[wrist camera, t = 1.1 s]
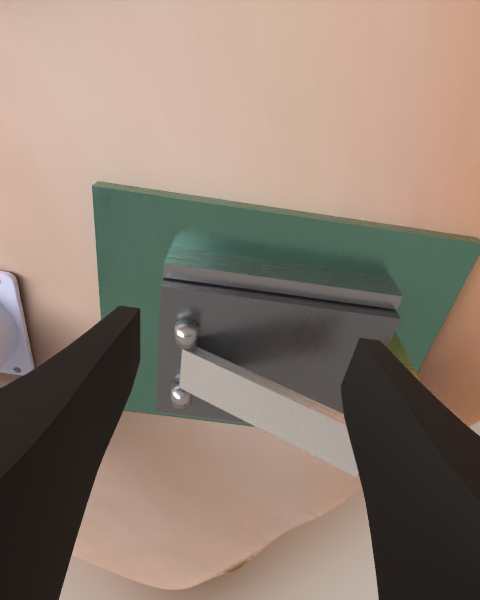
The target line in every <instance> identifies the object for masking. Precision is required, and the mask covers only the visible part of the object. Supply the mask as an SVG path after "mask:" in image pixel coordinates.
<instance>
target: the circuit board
mask: <svg viewBox="0 0 480 600" xmlns="http://www.w3.org/2000/svg"><path fill="white" fill-rule="evenodd" d="M92 192H93V207H94V221H95V236H96V251H97V265H98V280H99V295H100V309H101V320H102V319H103V318H104V317H106V316H107V315H108V314H109V313H110V312H112V311H113V310H114V309H115V308H117V307H118V306H127V307H135V308H140V364H139V367H138V371H137V374H136V378H135V381H134V385H133V388H132V391H131V393H130V396H129V398H128V400H127V403H126V405H125V407H124V410H123V411H131V412H139V413H148V414H156V415H164V416H172V417H180V418H188V419H197V420H205V421H213V422H221V423H229V424H237V425H245V426H254V425H252V424H250V423H248V422H246V421H244V420H242V419H240V418H238V417H236V416H234V415H232V414H230V413H228V412H226V411H224V410H222V409H220V408H218V407H216V406H214V405H212V404H210V403H208V402H206V401H204V400H202V399H200V398H198V397H196V396H194V395H192V394H191V393H189V392H187V391H185V390H183V389H181V388H179V384H180V371H181V358H182V349H191V348H193V347H195V346H197V347H199V348H201V349H203V350H205V351H207V352H210V353H212V354H214V355H216V356H218V357H221V358H223V359H225V360H227V361H229V362H231V363H234V364H236V365H238V366H240V367H242V368H245V369H247V370H249V371H251V372H253V373H255V374H258V375H260V376H262V377H264V378H266V379H269V380H271V381H273V382H275V383H277V384H279V385H282V386H284V387H286V388H288V389H290V390H292V391H295V392H297V393H299V394H301V395H303V396H306V397H308V398H310V399H312V400H314V401H316V402H319V403H321V404H323V405H325V406H327V407H330V408H332V409H334V410H336V411H338V412H340V413H343V414H344V412H343V405H342V395H341V384H342V381H343V379H344V376H345V374H346V371H347V369H348V366H349V363H350V361H351V358H352V356H353V353H354V351H355V348H356V345H357V343H358V340H359V338H365V339H373V340H379V341H381V342H382V343H383V344H384V345H385V346H386V347H387V348H388V349H389V350H390V351H391V352H392V353H393V354H394V355H395V356H396V357H397V358H398V359H399V361H400V362H401V363H402V364H403V365H404V366H405V367H406V368H407V369H408V370H409V371H410V372H411V373H412V374H413V375H414V376H415V377H416V378H417V379H418V380H419V381H420V379H419V377H418V375H417V372H418V370H419V368H420V366H421V365H422V363H423V361H424V359H425V357H426V355H427V353H428V351H429V349H430V347H431V345H432V344H433V342H434V340H435V338H436V336H437V334H438V332H439V330H440V328H441V326H442V325H443V323H444V321H445V319H446V317H447V315H448V313H449V311H450V309H451V307H452V306H453V304H454V302H455V300H456V298H457V296H458V294H459V292H460V290H461V288H462V287H463V285H464V283H465V281H466V279H467V277H468V275H469V273H470V271H471V269H472V268H473V266H474V264H475V262H476V260H477V258H478V256H479V254H480V240H479V239H478V238H476V237H469V236H462V235H455V234H449V233H442V232H435V231H429V230H422V229H415V228H408V227H402V226H395V225H388V224H381V223H375V222H368V221H361V220H354V219H348V218H341V217H334V216H327V215H321V214H314V213H307V212H300V211H294V210H287V209H280V208H274V207H267V206H260V205H253V204H247V203H240V202H233V201H226V200H220V199H213V198H206V197H199V196H193V195H186V194H179V193H172V192H166V191H159V190H152V189H145V188H139V187H132V186H125V185H119V184H112V183H105V182H96V183H95V184H94V185H93V186H92ZM420 382H421V381H420ZM254 427H256V426H254Z"/></svg>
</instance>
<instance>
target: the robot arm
mask: <svg viewBox="0 0 480 600" xmlns="http://www.w3.org/2000/svg"><path fill="white" fill-rule="evenodd" d="M139 364H140V308H135V307H127V306H118V307H117V308H115V309H114V310H113V311H112V312H110V313H109V314H108V315H107V316H106V317H104V318H103V319H102V320H101V321H99V322H98V323H97V324H96V325H95V326H93V327H92V328H91V329H90V330H88V331H87V332H86V333H84V334H83V335H82V336H81V337H79V338H78V339H77V340H75V341H74V342H73V343H71V344H70V345H69V346H67V347H66V348H65V349H63V350H62V351H60V352H59V353H57V354H56V355H55V356H53V357H52V358H50V359H49V360H47V361H46V362H44V363H43V364H41V365H40V366H38V367H37V368H35V367H34V362H33V357H32V352H31V347H30V342H29V337H28V332H27V327H26V322H25V317H24V312H23V307H22V302H21V297H20V292H19V287H18V282H17V279H16V277H15V276H14V275H13V274H11V273H9V272H5V271H0V373H7V374H15V375H23V376H22V377H20V378H18V379H17V380H15V381H13V382H11V383H10V384H8V385H6V386H4V387H2V388H0V600H59V597H60V593H61V589H62V586H63V582H64V579H65V575H66V572H67V569H68V565H69V562H70V558H71V555H72V551H73V548H74V544H75V541H76V538H77V535H78V531H79V528H80V525H81V522H82V518H83V515H84V512H85V508H86V505H87V502H88V499H89V496H90V493H91V490H92V487H93V484H94V480H95V477H96V474H97V471H98V469H99V466H100V464H101V461H102V458H103V456H104V454H105V451H106V449H107V447H108V444H109V442H110V440H111V437H112V435H113V433H114V431H115V428H116V426H117V424H118V421H119V419H120V417H121V414H122V412H123V410H124V407H125V405H126V403H127V400H128V398H129V396H130V393H131V391H132V388H133V385H134V381H135V378H136V374H137V371H138V367H139ZM19 368H20V369H19ZM341 395H342V405H343V412H344V418H345V422H346V427H347V430H348V434H349V438H350V442H351V446H352V450H353V454H354V457H355V461H356V465H357V469H358V472H359V476H360V480H361V484H362V488H363V492H364V497H365V502H366V507H367V514H368V520H369V526H370V532H371V539H372V547H373V554H374V562H375V569H376V577H377V586H378V595H379V600H480V436H479V435H477V434H476V433H475V432H474V431H473V430H471V429H470V428H469V427H468V426H467V425H465V424H464V423H463V422H462V421H461V420H460V419H459V418H457V417H456V416H455V415H454V414H453V413H452V412H451V411H450V410H449V409H448V408H447V407H445V406H444V405H443V404H442V403H441V402H440V401H439V400H438V399H437V398H436V397H435V396H434V395H433V394H432V393H431V392H430V391H429V390H428V389H427V388H426V387H425V386H424V385H423V384H422V383H421V382H420V381H419V380H418V379H417V378H416V377H415V376H414V375H413V374H412V373H411V372H410V371H409V370H408V369H407V368H406V367H405V366H404V365H403V364H402V363H401V362H400V361H399V359H398V358H397V357H396V356H395V355H394V354H393V353H392V352H391V351H390V350H389V349H388V348H387V347H386V346H385V345H384V344H383V343H382V342H381V341H379V340H373V339H365V338H359V340H358V343H357V345H356V348H355V351H354V353H353V356H352V358H351V361H350V363H349V366H348V369H347V371H346V374H345V376H344V379H343V381H342V384H341Z"/></svg>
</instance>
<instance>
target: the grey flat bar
mask: <svg viewBox="0 0 480 600" xmlns="http://www.w3.org/2000/svg"><path fill="white" fill-rule="evenodd" d="M179 388H181V389H183V390H185V391H187V392H189V393H191V394H192V395H194V396H196V397H198V398H200V399H202V400H204V401H206V402H208V403H210V404H212V405H214V406H216V407H218V408H220V409H222V410H224V411H226V412H228V413H230V414H232V415H234V416H236V417H238V418H240V419H242V420H244V421H246V422H248V423H250V424H252V425H254V426H256V427H258V428H260V429H262V430H263V431H265V432H267V433H269V434H271V435H273V436H275V437H277V438H279V439H281V440H283V441H285V442H287V443H289V444H291V445H293V446H295V447H297V448H299V449H301V450H303V451H305V452H307V453H309V454H311V455H313V456H315V457H317V458H319V459H321V460H323V461H325V462H327V463H329V464H331V465H333V466H334V467H336V468H338V469H340V470H342V471H344V472H346V473H348V474H350V475H352V476H354V477H356V478H357V476H358V474H359V472H358V469H357V465H356V461H355V457H354V454H353V450H352V446H351V442H350V438H349V434H348V430H347V427H346V422H345V418H344V414H343V413H340V412H338V411H336V410H334V409H332V408H330V407H327V406H325V405H323V404H321V403H319V402H316V401H314V400H312V399H310V398H308V397H306V396H303V395H301V394H299V393H297V392H295V391H292V390H290V389H288V388H286V387H284V386H282V385H279V384H277V383H275V382H273V381H271V380H269V379H266V378H264V377H262V376H260V375H258V374H255V373H253V372H251V371H249V370H247V369H245V368H242V367H240V366H238V365H236V364H234V363H231V362H229V361H227V360H225V359H223V358H221V357H218V356H216V355H214V354H212V353H210V352H207V351H205V350H203V349H201V348H199V347H197V346H195V347H193V348H191V349H182V358H181V371H180V384H179Z"/></svg>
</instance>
